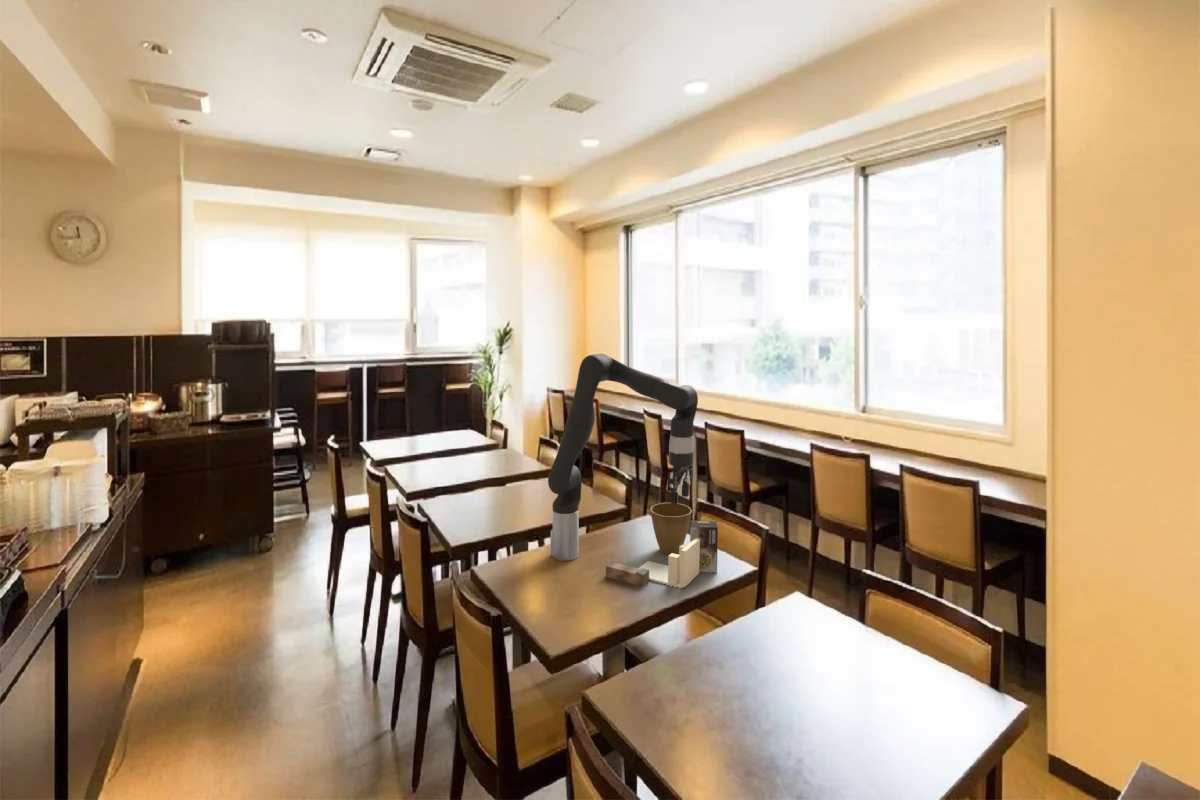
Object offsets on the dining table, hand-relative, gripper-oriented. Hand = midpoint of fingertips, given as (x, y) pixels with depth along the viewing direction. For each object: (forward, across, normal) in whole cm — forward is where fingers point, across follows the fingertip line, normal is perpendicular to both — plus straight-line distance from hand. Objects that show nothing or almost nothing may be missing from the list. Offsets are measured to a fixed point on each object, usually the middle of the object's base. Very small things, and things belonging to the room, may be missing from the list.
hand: (679, 499), depth 188 cm
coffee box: (+29, -16, +2) cm, 33 cm away
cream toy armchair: (+28, -4, -6) cm, 29 cm away
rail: (+29, +5, -16) cm, 33 cm away
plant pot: (+29, -24, -14) cm, 40 cm away
